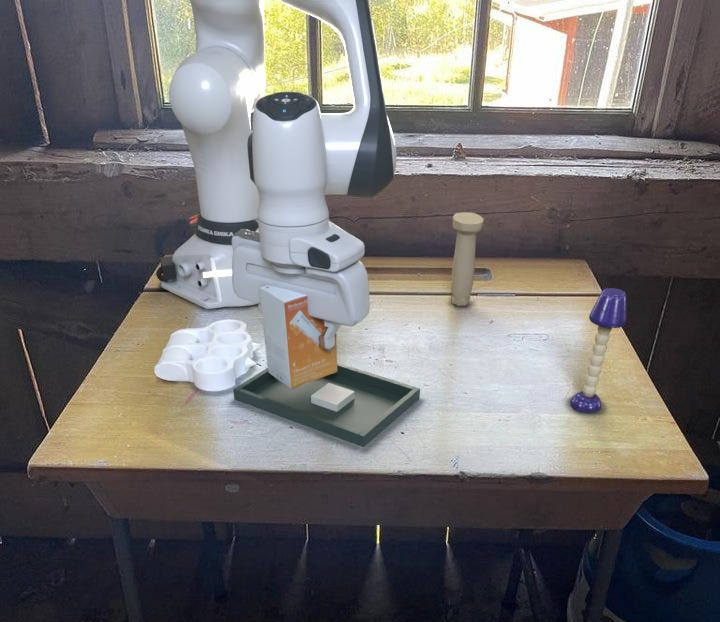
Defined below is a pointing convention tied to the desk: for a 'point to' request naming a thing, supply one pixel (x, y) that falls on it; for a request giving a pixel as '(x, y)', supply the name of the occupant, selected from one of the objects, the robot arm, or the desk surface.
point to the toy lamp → (600, 345)
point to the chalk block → (332, 397)
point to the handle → (464, 256)
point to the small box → (294, 338)
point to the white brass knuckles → (208, 355)
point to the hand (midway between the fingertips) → (301, 339)
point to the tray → (351, 423)
